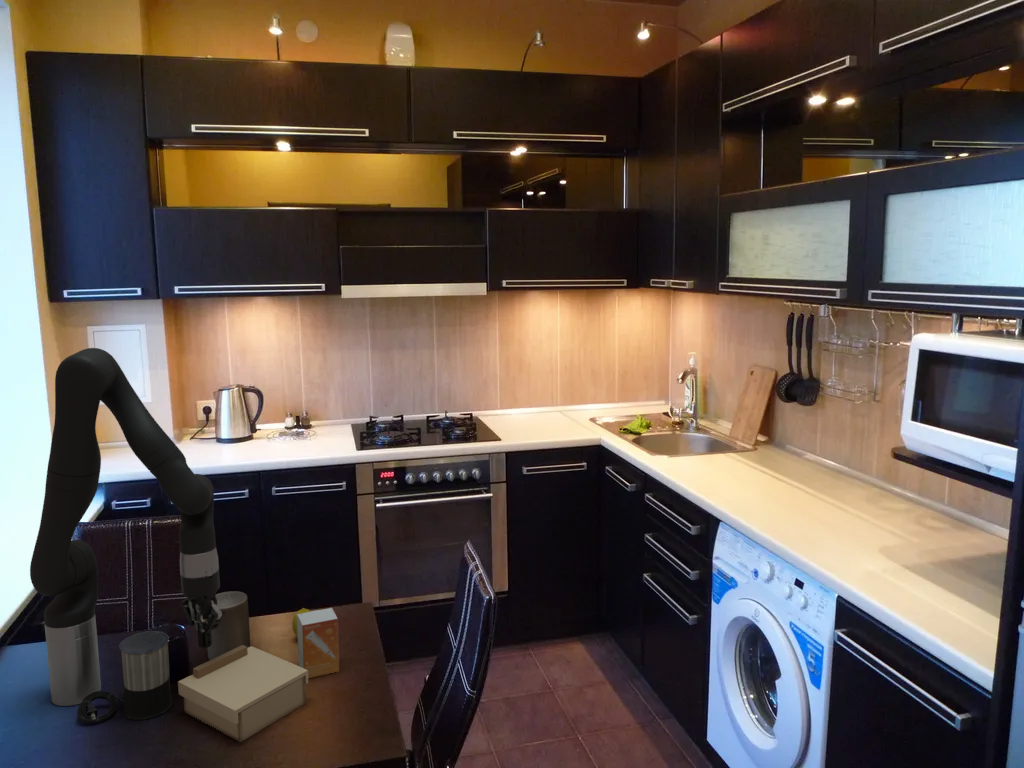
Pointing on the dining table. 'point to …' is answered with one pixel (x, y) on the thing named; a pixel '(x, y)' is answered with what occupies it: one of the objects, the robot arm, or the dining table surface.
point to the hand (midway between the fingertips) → (205, 646)
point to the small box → (318, 642)
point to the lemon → (294, 623)
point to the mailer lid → (238, 680)
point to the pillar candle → (230, 624)
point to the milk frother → (137, 680)
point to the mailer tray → (253, 712)
